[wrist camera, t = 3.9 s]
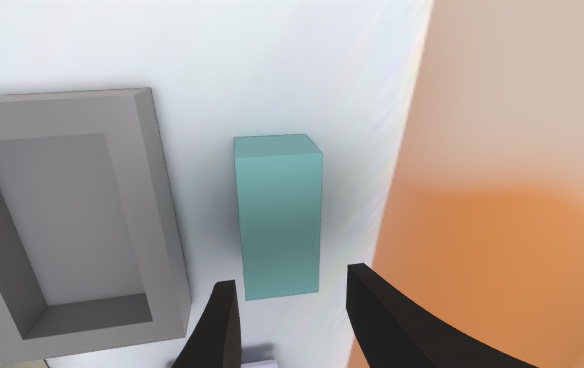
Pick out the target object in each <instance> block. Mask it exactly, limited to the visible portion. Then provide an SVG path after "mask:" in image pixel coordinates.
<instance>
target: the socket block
mask: <svg viewBox="0 0 584 368" xmlns="http://www.w3.org/2000/svg"><path fill="white" fill-rule="evenodd" d="M191 303H192V299H191V294H190V288H189V283H188V278H187V273H186V268H185V263H184V257H183V252H182V247H181V242H180V237H179V232H178V226H177V221H176V216H175V211H174V206H173V201H172V195H171V190H170V185H169V180H168V175H167V170H166V164H165V159H164V154H163V149H162V144H161V138H160V133H159V128H158V123H157V118H156V113H155V107H154V102H153V97H152V92H151V88H135V89H115V90H96V91H76V92H56V93H36V94H17V95H0V363H1V365H9V364H15V363H22V362H28V361H35V360H41V359H48V358H54V357H61V356H68V355H74V354H81V353H87V352H94V351H100V350H107V349H113V348H120V347H126V346H133V345H139V344H146V343H152V342H159V341H165V340H172V339H178V338H185V337H186V332H187V326H188V320H189V315H190V309H191Z"/></svg>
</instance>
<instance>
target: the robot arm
mask: <svg viewBox="0 0 584 368" xmlns="http://www.w3.org/2000/svg"><path fill="white" fill-rule="evenodd" d="M346 310H347V313H348V316H349V319H350V322H351V325H352V328H353V331H354V334H355V336H356V338H357V340H358V343H359V345H360V347H361V349H362V351H363V353H364V356H365V358H366V359H367V362H368V364H369V366H370V368H538V367H536V366H533V365H531V364H528V363H526V362H524V361H521V360H519V359H517V358H514V357H512V356H510V355H507V354H505V353H503V352H500V351H499V350H496V349H494V348H492V347H490V346H488V345H486V344H484V343H482V342H480V341H478V340H476V339H474V338H472V337H470V336H468V335H466V334H465V333H462V332H461V331H459V330H457V329H456V328H454V327H452V326H451V325H449V324H447V323H445V322H444V321H442V320H440V319H439V318H437V317H436V316H434V315H432V314H431V313H429V312H428V311H426V310H425V309H423V308H422V307H420V306H419V305H417V304H416V303H415V302H413V301H412V300H411V299H409V298H407V297H406V296H405V295H404V294H402V293H401V292H400V291H398V290H397V289H396V288H394V287H393V286H392V285H390V284H389V283H388V282H387V281H385V280H384V279H383V278H382V277H381V276H379V275H378V274H377V273H376V272H374V271H373V270H372V269H371V268H369V267H368V266H367V265H366V264H364V263H359V264H351V265H348V271H347V296H346ZM171 368H278V362H277V361H276V360H273V359H271V360H265V361H259V362H253V363H247V364H241V329H240V317H239V309H238V301H237V293H236V285H235V280H229V281H221V282H217V283H216V284H215V285H214V288H213V291H212V294H211V296H210V299H209V301H208V303H207V305H206V307H205V310H204V312H203V314H202V316H201V318H200V320H199V321H198V323H197V325H196V327H195V329H194V331H193V333H192V334H191V336H190V338H189V340H188V341H187V343H186V345H185V346H184V348H183V350H182V351H181V353H180V355H179V356H178V358H177V359H176V361H175V362H174V364H173V365H172V367H171Z"/></svg>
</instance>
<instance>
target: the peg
mask: <svg viewBox="0 0 584 368" xmlns="http://www.w3.org/2000/svg"><path fill="white" fill-rule="evenodd" d="M234 159H235V172H236V184H237V197H238V210H239V222H240V235H241V247H242V260H243V273H244V285H245V298H246V301H249V300H257V299H265V298H274V297H282V296H290V295H298V294H306V293H315V292H319V257H320V222H321V187H322V152H321V151H320V150H319V149H318V147H317V146H316V145H315V144H314V143H313V142H312V141H311V139H310V138H309V137H308V136H307V135H306V134H292V135H271V136H250V137H234Z"/></svg>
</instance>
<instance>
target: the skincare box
mask: <svg viewBox="0 0 584 368" xmlns="http://www.w3.org/2000/svg"><path fill="white" fill-rule="evenodd" d="M0 368H48V367H47V365H46V363H45V362H44V360H43V359H41V360H35V361H28V362H22V363H15V364H9V365H1V363H0Z"/></svg>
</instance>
